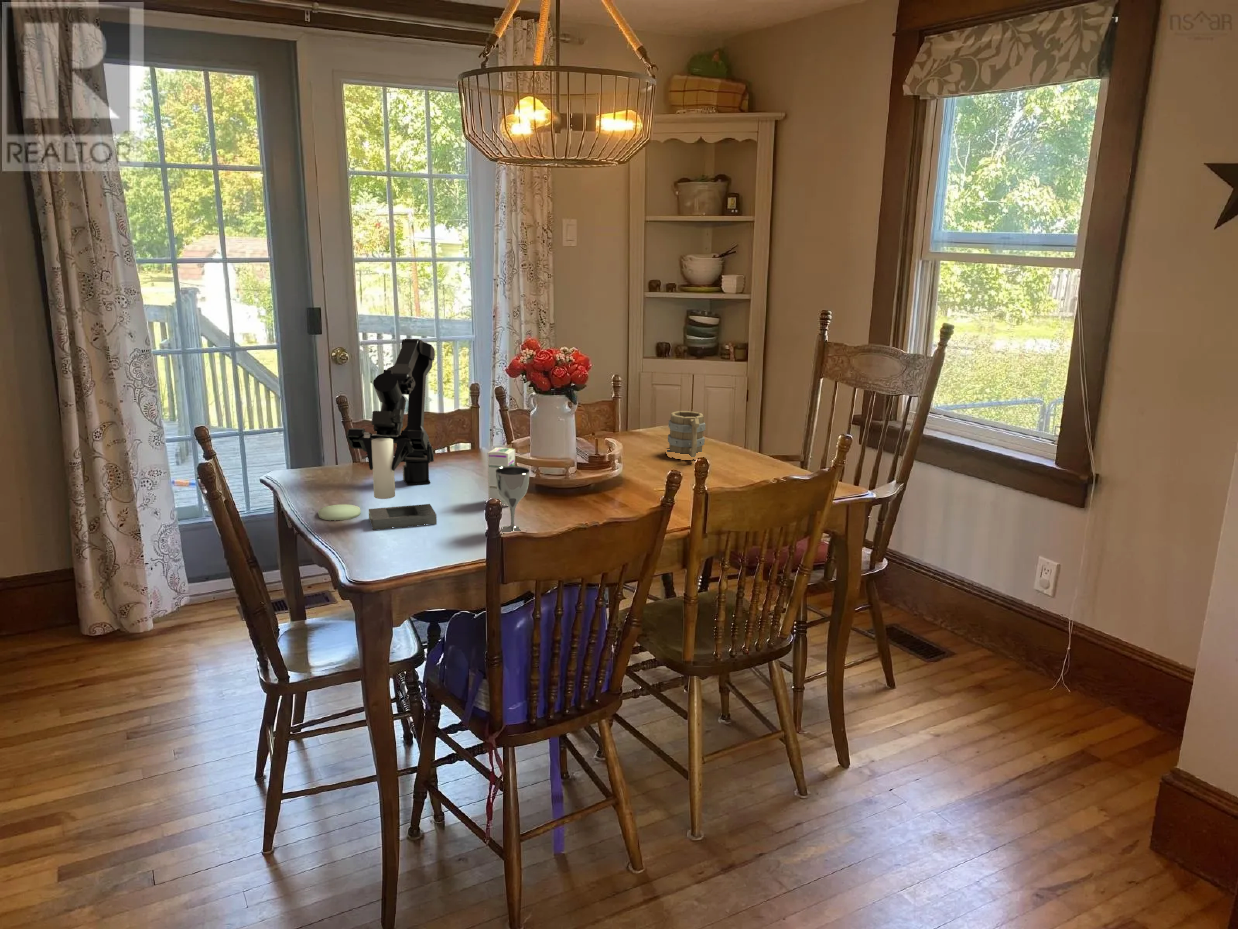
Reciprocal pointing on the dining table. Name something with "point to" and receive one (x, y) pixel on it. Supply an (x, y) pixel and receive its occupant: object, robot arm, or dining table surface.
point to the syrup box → (495, 461)
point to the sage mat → (339, 512)
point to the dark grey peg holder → (402, 516)
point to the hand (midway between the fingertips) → (381, 469)
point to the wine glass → (512, 489)
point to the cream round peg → (383, 468)
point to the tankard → (686, 432)
